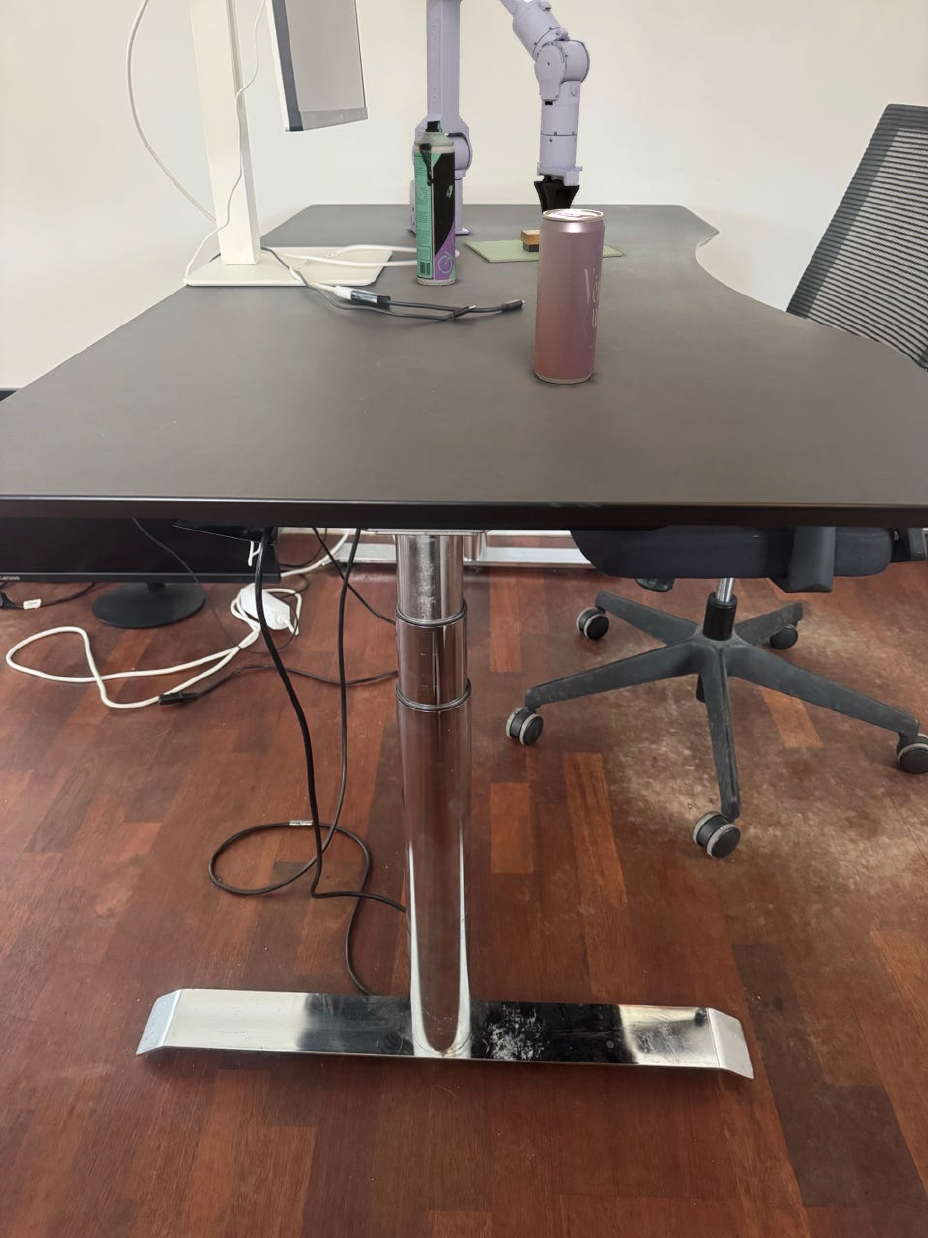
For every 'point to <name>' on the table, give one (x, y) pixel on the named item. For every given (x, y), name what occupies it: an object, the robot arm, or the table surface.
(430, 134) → the spray can
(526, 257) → the mat
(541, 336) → the beverage can
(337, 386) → the table surface
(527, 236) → the brush
